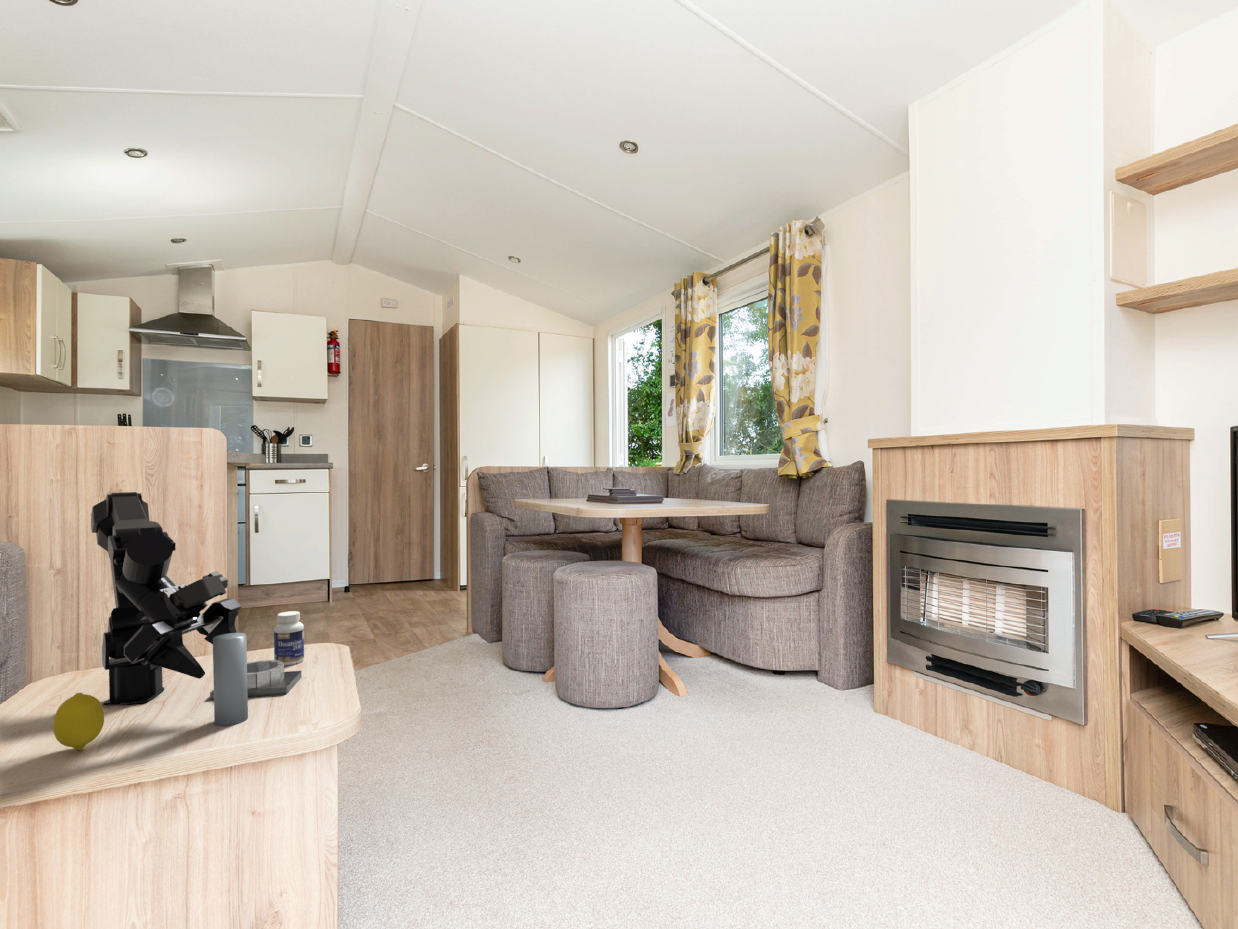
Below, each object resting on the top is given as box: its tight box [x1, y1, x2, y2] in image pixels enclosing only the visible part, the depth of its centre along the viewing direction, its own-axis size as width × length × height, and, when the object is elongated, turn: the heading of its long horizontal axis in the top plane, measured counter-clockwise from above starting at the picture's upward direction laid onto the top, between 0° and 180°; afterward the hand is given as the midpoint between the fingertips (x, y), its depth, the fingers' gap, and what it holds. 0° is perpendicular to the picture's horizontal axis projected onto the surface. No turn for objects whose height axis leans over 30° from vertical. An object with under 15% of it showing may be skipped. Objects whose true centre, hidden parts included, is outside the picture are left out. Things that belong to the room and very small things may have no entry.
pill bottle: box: [273, 610, 305, 666], centre depth 133 cm, size 5×5×10 cm
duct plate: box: [209, 659, 302, 700], centre depth 118 cm, size 12×9×4 cm
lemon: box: [52, 692, 105, 751], centre depth 93 cm, size 6×6×8 cm
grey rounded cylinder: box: [212, 632, 249, 727], centre depth 103 cm, size 4×4×13 cm
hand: (223, 666), depth 103 cm, fingers open, 9 cm apart
